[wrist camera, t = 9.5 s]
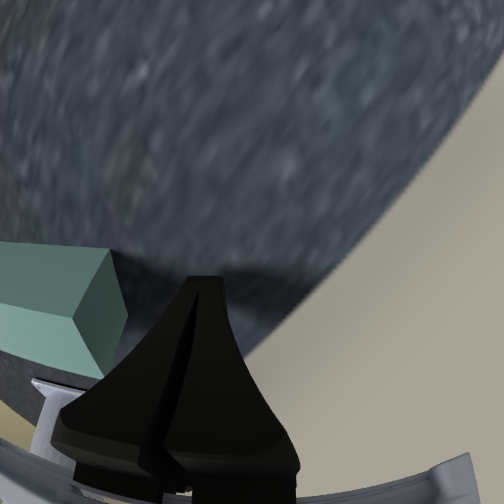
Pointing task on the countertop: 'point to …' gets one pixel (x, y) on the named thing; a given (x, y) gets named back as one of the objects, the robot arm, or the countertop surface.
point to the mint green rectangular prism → (60, 306)
